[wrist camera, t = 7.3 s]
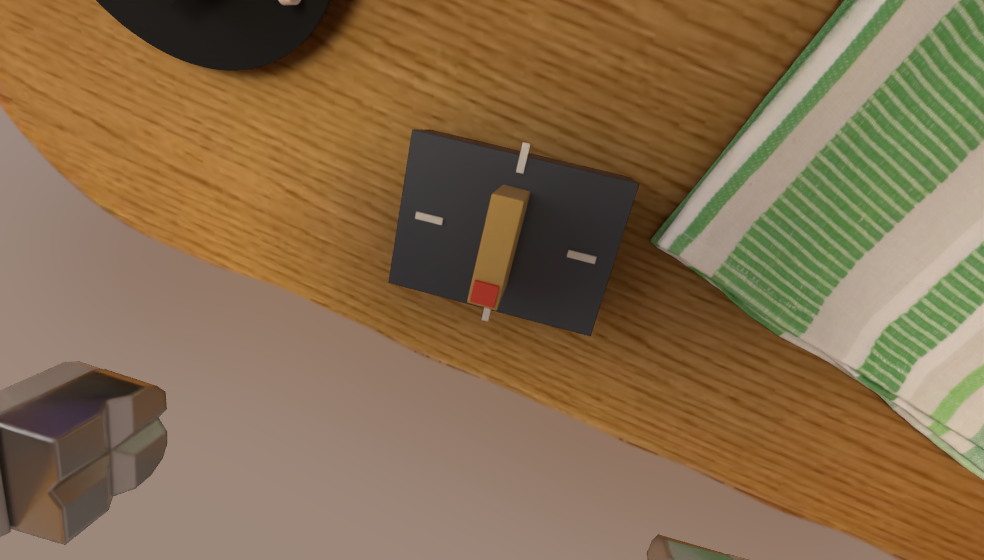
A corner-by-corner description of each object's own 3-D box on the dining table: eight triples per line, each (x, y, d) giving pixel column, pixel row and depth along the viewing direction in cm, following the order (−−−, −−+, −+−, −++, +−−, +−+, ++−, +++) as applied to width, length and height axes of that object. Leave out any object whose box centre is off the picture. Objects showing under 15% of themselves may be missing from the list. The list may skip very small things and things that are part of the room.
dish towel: (982, 476, 27) (1027, 513, 24) (638, 247, 26) (646, 260, 23) (1338, 212, 21) (1448, 223, 18) (907, -98, 20) (958, -132, 17)
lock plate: (634, 165, 24) (644, 170, 21) (584, 324, 27) (587, 348, 24) (431, 117, 25) (413, 116, 22) (404, 276, 28) (385, 294, 25)
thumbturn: (502, 184, 23) (490, 193, 19) (530, 191, 23) (524, 202, 19) (480, 279, 24) (465, 305, 21) (506, 287, 24) (496, 313, 21)
